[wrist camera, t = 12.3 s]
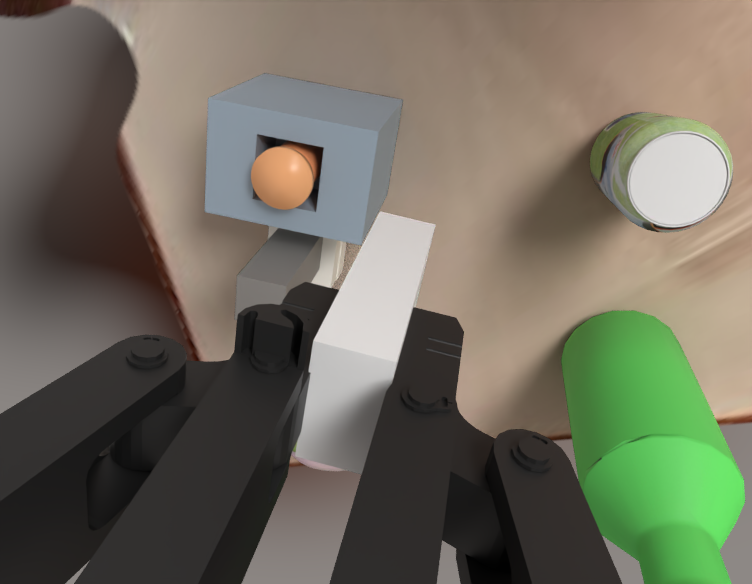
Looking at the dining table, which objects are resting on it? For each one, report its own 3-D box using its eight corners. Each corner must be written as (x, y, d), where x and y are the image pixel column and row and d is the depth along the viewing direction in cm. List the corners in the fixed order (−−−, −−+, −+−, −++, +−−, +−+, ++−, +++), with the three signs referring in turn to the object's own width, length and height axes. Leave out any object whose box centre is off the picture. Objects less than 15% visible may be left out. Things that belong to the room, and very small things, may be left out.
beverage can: (593, 204, 46) (620, 274, 36) (580, 100, 43) (604, 143, 33) (689, 187, 45) (747, 255, 34) (682, 77, 42) (742, 115, 31)
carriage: (285, 183, 49) (220, 248, 38) (353, 197, 48) (307, 267, 37) (279, 255, 52) (216, 336, 40) (342, 269, 51) (297, 354, 40)
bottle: (558, 399, 54) (597, 700, 32) (560, 305, 50) (605, 572, 28) (673, 401, 52) (799, 721, 30) (684, 304, 48) (837, 587, 26)
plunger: (279, 124, 41) (252, 142, 37) (335, 135, 41) (314, 155, 36) (275, 178, 43) (249, 202, 38) (328, 189, 42) (307, 215, 38)
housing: (264, 73, 46) (208, 97, 37) (403, 99, 45) (378, 131, 36) (258, 168, 49) (204, 211, 40) (387, 194, 48) (361, 245, 40)
